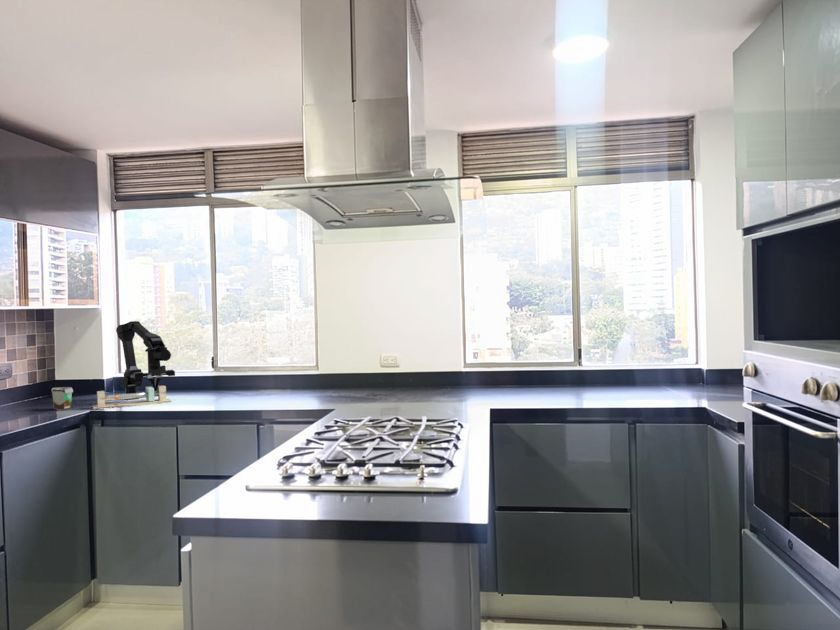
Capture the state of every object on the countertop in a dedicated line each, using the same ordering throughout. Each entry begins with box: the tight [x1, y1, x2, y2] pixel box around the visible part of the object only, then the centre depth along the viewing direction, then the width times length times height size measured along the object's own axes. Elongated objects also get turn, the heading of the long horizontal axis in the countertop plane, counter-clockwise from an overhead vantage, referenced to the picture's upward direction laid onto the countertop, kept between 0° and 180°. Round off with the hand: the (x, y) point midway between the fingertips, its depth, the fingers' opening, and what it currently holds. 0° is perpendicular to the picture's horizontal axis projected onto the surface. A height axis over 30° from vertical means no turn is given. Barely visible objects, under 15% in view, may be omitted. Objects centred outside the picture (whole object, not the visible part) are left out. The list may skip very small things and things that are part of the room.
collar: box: [145, 385, 155, 401], centre depth 292 cm, size 11×2×6 cm, turn 32°
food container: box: [51, 386, 74, 411], centre depth 280 cm, size 12×6×10 cm, turn 59°
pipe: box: [96, 390, 159, 403], centre depth 286 cm, size 3×30×3 cm, turn 122°
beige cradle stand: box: [91, 385, 172, 410], centre depth 286 cm, size 10×34×8 cm, turn 122°
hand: (155, 391), depth 297 cm, fingers closed
